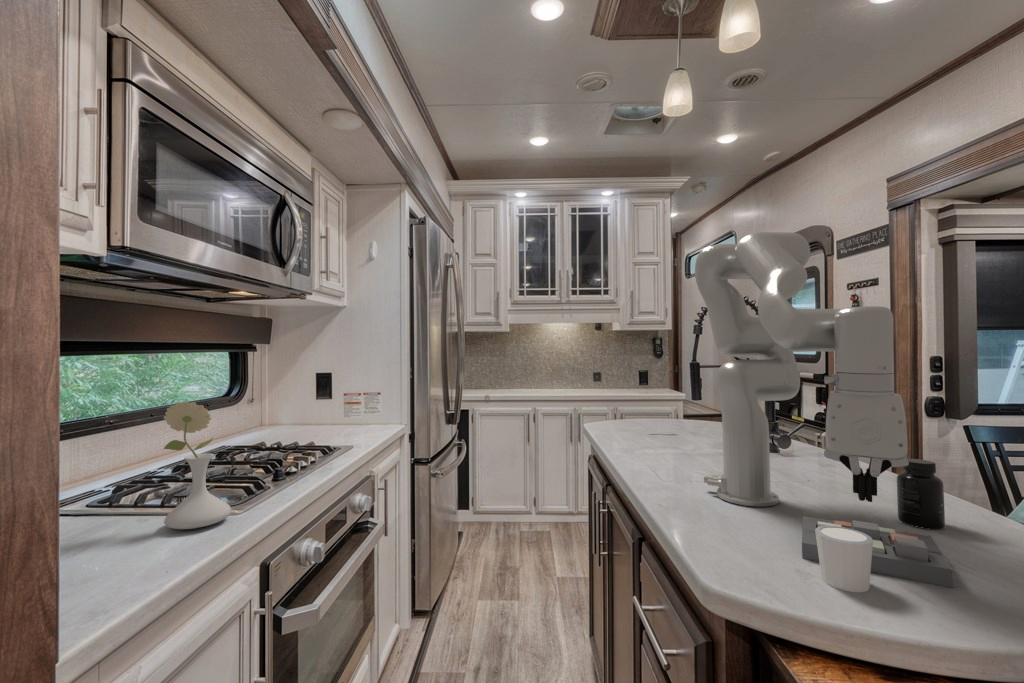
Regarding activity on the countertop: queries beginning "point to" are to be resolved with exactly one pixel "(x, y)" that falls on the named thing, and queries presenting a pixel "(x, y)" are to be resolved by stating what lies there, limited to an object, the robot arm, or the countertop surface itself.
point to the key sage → (878, 547)
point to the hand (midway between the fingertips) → (864, 498)
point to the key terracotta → (899, 536)
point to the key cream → (829, 524)
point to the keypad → (890, 552)
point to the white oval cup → (844, 557)
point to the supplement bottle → (920, 495)
